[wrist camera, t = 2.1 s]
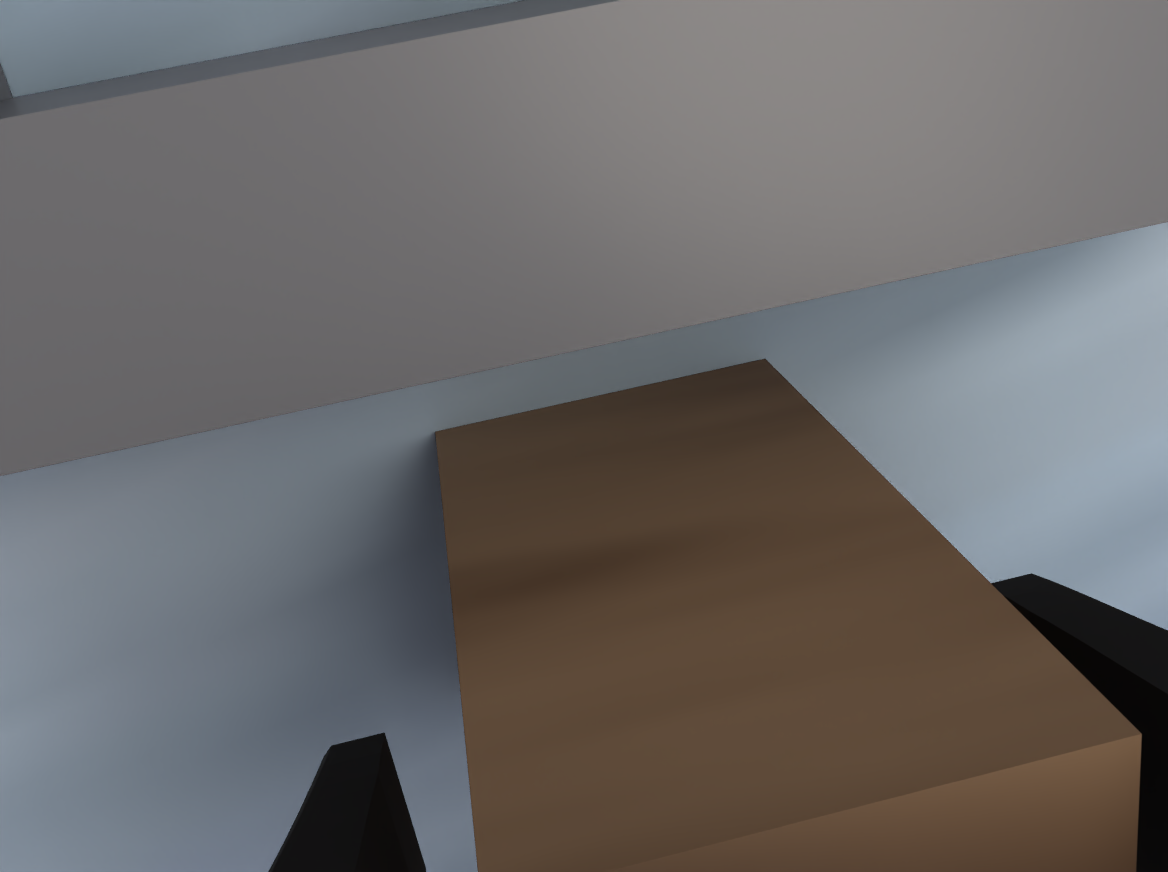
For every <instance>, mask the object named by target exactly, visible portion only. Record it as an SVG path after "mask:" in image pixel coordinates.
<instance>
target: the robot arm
mask: <svg viewBox="0 0 1168 872" xmlns="http://www.w3.org/2000/svg"><path fill="white" fill-rule="evenodd" d="M991 584H992V585H993V586H994V587H995V588H996V589H997V590H998V591H999V592H1000V593H1001V594H1002V595H1003V596H1004V597H1005V598H1006V599H1007V600H1008V601H1009V602H1010V603H1011V604H1012V605H1013V606H1014V607H1015V608H1016V609H1017V610H1018V611H1019V612H1020V613H1021V614H1022V615H1023V616H1024V617H1025V618H1026V619H1027V620H1028V621H1029V622H1030V623H1031V624H1032V625H1033V626H1034V627H1035V628H1036V629H1037V630H1038V631H1039V632H1040V633H1041V634H1042V635H1043V636H1044V637H1045V638H1046V639H1047V640H1048V641H1049V642H1050V643H1051V644H1052V645H1053V646H1054V647H1055V648H1056V649H1057V650H1058V651H1059V652H1060V653H1061V654H1062V655H1063V656H1064V657H1065V658H1066V659H1067V660H1068V661H1069V662H1070V663H1071V664H1072V665H1073V666H1074V667H1075V668H1076V669H1077V670H1078V671H1079V672H1080V673H1081V674H1082V675H1083V676H1084V677H1085V678H1086V679H1087V680H1088V681H1089V682H1090V683H1091V684H1092V685H1093V686H1094V687H1095V688H1096V689H1097V690H1098V691H1099V692H1100V693H1101V694H1102V695H1103V696H1104V697H1105V698H1106V699H1107V700H1108V701H1109V702H1110V703H1111V704H1112V705H1113V706H1114V707H1115V708H1116V709H1117V710H1118V711H1119V712H1120V713H1121V714H1122V715H1123V716H1124V717H1125V718H1126V719H1127V720H1128V721H1129V722H1130V723H1131V724H1132V725H1133V726H1134V727H1135V728H1136V729H1137V730H1138V731H1139V732H1140V733H1141V734H1142V740H1141V764H1140V788H1139V812H1138V836H1137V860H1136V872H1168V631H1167V630H1165V629H1163V628H1160V627H1158V626H1156V625H1153V624H1151V623H1149V622H1146V621H1144V620H1142V619H1139V618H1137V617H1135V616H1133V615H1130V614H1128V613H1126V612H1123V611H1121V610H1119V609H1116V608H1114V607H1112V606H1110V605H1107V604H1105V603H1103V602H1100V601H1098V600H1096V599H1093V598H1091V597H1089V596H1086V595H1084V594H1082V593H1079V592H1077V591H1075V590H1072V589H1070V588H1068V587H1065V586H1063V585H1060V584H1058V583H1055V582H1053V581H1050V580H1048V579H1045V578H1042V577H1040V576H1037V575H1034V574H1027V575H1023V576H1019V577H1015V578H1011V579H1007V580H1003V581H999V582H995V583H991ZM269 872H426V867H425V864H424V861H423V857H422V854H421V851H420V848H419V844H418V841H417V838H416V834H415V831H414V828H413V825H412V821H411V818H410V815H409V811H408V808H407V805H406V802H405V798H404V795H403V792H402V788H401V785H400V782H399V779H398V775H397V772H396V769H395V765H394V762H393V759H392V756H391V752H390V749H389V746H388V742H387V739H386V736H385V733H381V734H377V735H373V736H369V737H365V738H361V739H357V740H353V741H349V742H344V743H340V744H336V745H332V746H331V747H330V749H329V750H328V751H327V753H326V754H325V756H324V758H323V760H322V762H321V764H320V767H319V769H318V771H317V774H316V776H315V778H314V780H313V782H312V785H311V787H310V789H309V791H308V793H307V796H306V798H305V800H304V802H303V804H302V806H301V809H300V811H299V813H298V815H297V817H296V819H295V821H294V823H293V825H292V827H291V829H290V831H289V833H288V835H287V837H286V839H285V841H284V843H283V845H282V847H281V849H280V851H279V853H278V855H277V857H276V859H275V860H274V862H273V864H272V866H271V868H270V870H269Z"/></svg>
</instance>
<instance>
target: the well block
mask: <svg viewBox="0 0 1168 872" xmlns="http://www.w3.org/2000/svg"><path fill="white" fill-rule="evenodd" d="M1165 222H1168V0H523V1H518V2H513V3H508V4H502V5H497V6H492V7H487V8H481V9H476V10H471V11H465V12H460V13H455V14H450V15H444V16H439V17H434V18H429V19H423V20H418V21H413V22H408V23H402V24H397V25H392V26H387V27H381V28H376V29H371V30H366V31H360V32H355V33H350V34H345V35H339V36H334V37H329V38H324V39H318V40H313V41H308V42H303V43H297V44H292V45H287V46H282V47H276V48H271V49H266V50H261V51H255V52H250V53H245V54H240V55H234V56H229V57H224V58H219V59H213V60H208V61H203V62H197V63H192V64H187V65H182V66H176V67H171V68H166V69H161V70H155V71H150V72H145V73H140V74H134V75H129V76H124V77H119V78H113V79H108V80H103V81H98V82H92V83H87V84H82V85H77V86H71V87H66V88H61V89H56V90H50V91H45V92H40V93H35V94H29V95H24V96H19V97H14V98H13V97H12V94H11V91H10V89H9V86H8V83H7V80H6V78H5V75H4V72H3V70H2V67H1V64H0V476H2V475H7V474H12V473H16V472H21V471H25V470H30V469H35V468H39V467H44V466H48V465H53V464H58V463H62V462H67V461H71V460H76V459H81V458H85V457H90V456H94V455H99V454H104V453H108V452H113V451H117V450H122V449H126V448H131V447H136V446H140V445H145V444H149V443H154V442H159V441H163V440H168V439H172V438H177V437H182V436H186V435H191V434H195V433H200V432H205V431H209V430H214V429H218V428H223V427H228V426H232V425H237V424H241V423H246V422H251V421H255V420H260V419H264V418H269V417H274V416H278V415H283V414H287V413H292V412H297V411H301V410H306V409H310V408H315V407H320V406H324V405H329V404H333V403H338V402H343V401H347V400H352V399H356V398H361V397H366V396H370V395H375V394H379V393H384V392H388V391H393V390H398V389H402V388H407V387H411V386H416V385H421V384H425V383H430V382H434V381H439V380H444V379H448V378H453V377H457V376H462V375H467V374H471V373H476V372H480V371H485V370H490V369H494V368H499V367H503V366H508V365H513V364H517V363H522V362H526V361H531V360H536V359H540V358H545V357H549V356H554V355H559V354H563V353H568V352H572V351H577V350H582V349H586V348H591V347H595V346H600V345H605V344H609V343H614V342H618V341H623V340H627V339H632V338H637V337H641V336H646V335H650V334H655V333H660V332H664V331H669V330H673V329H678V328H683V327H687V326H692V325H696V324H701V323H706V322H710V321H715V320H719V319H724V318H729V317H733V316H738V315H742V314H747V313H752V312H756V311H761V310H765V309H770V308H775V307H779V306H784V305H788V304H793V303H798V302H802V301H807V300H811V299H816V298H821V297H825V296H830V295H834V294H839V293H844V292H848V291H853V290H857V289H862V288H866V287H871V286H876V285H880V284H885V283H889V282H894V281H899V280H903V279H908V278H912V277H917V276H922V275H926V274H931V273H935V272H940V271H945V270H949V269H954V268H958V267H963V266H968V265H972V264H977V263H981V262H986V261H991V260H995V259H1000V258H1004V257H1009V256H1014V255H1018V254H1023V253H1027V252H1032V251H1037V250H1041V249H1046V248H1050V247H1055V246H1060V245H1064V244H1069V243H1073V242H1078V241H1083V240H1087V239H1092V238H1096V237H1101V236H1105V235H1110V234H1115V233H1119V232H1124V231H1128V230H1133V229H1138V228H1142V227H1147V226H1151V225H1156V224H1161V223H1165Z"/></svg>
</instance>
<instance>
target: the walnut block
mask: <svg viewBox="0 0 1168 872" xmlns="http://www.w3.org/2000/svg"><path fill="white" fill-rule="evenodd" d="M435 435H436V445H437V455H438V465H439V476H440V486H441V496H442V507H443V517H444V527H445V537H446V548H447V558H448V568H449V579H450V589H451V599H452V610H453V620H454V630H455V640H456V651H457V661H458V671H459V682H460V692H461V702H462V712H463V723H464V733H465V743H466V754H467V764H468V774H469V784H470V795H471V805H472V815H473V826H474V836H475V846H476V857H477V867H478V872H1136V860H1137V836H1138V812H1139V788H1140V764H1141V740H1142V734H1141V733H1140V732H1139V731H1138V730H1137V729H1136V728H1135V727H1134V726H1133V725H1132V724H1131V723H1130V722H1129V721H1128V720H1127V719H1126V718H1125V717H1124V716H1123V715H1122V714H1121V713H1120V712H1119V711H1118V710H1117V709H1116V708H1115V707H1114V706H1113V705H1112V704H1111V703H1110V702H1109V701H1108V700H1107V699H1106V698H1105V697H1104V696H1103V695H1102V694H1101V693H1100V692H1099V691H1098V690H1097V689H1096V688H1095V687H1094V686H1093V685H1092V684H1091V683H1090V682H1089V681H1088V680H1087V679H1086V678H1085V677H1084V676H1083V675H1082V674H1081V673H1080V672H1079V671H1078V670H1077V669H1076V668H1075V667H1074V666H1073V665H1072V664H1071V663H1070V662H1069V661H1068V660H1067V659H1066V658H1065V657H1064V656H1063V655H1062V654H1061V653H1060V652H1059V651H1058V650H1057V649H1056V648H1055V647H1054V646H1053V645H1052V644H1051V643H1050V642H1049V641H1048V640H1047V639H1046V638H1045V637H1044V636H1043V635H1042V634H1041V633H1040V632H1039V631H1038V630H1037V629H1036V628H1035V627H1034V626H1033V625H1032V624H1031V623H1030V622H1029V621H1028V620H1027V619H1026V618H1025V617H1024V616H1023V615H1022V614H1021V613H1020V612H1019V611H1018V610H1017V609H1016V608H1015V607H1014V606H1013V605H1012V604H1011V603H1010V602H1009V601H1008V600H1007V599H1006V598H1005V597H1004V596H1003V595H1002V594H1001V593H1000V592H999V591H998V590H997V589H996V588H995V587H994V586H993V585H992V584H991V583H990V582H989V581H988V580H987V579H986V578H985V577H984V576H983V575H982V574H981V573H980V572H979V571H978V570H977V569H976V568H975V567H974V566H973V565H972V564H971V563H970V562H969V561H968V560H967V559H966V558H965V557H964V556H963V555H962V554H961V553H960V552H959V551H958V550H957V549H956V548H955V547H954V546H953V545H952V544H951V543H950V542H949V541H948V540H947V539H946V538H945V537H944V536H943V535H942V534H941V533H940V532H939V531H938V530H937V529H936V528H935V527H934V526H933V525H932V524H931V523H930V522H929V521H928V520H927V519H926V518H925V517H924V516H923V515H922V514H921V513H920V512H919V511H918V510H917V509H916V508H915V507H914V506H912V505H911V504H910V503H909V502H908V501H907V500H906V499H905V498H904V497H903V496H902V495H901V494H900V493H899V492H898V491H897V490H896V489H895V488H894V487H893V486H892V485H891V484H890V483H889V482H888V481H887V480H886V479H885V478H884V477H883V476H882V475H881V474H880V473H879V472H878V471H877V470H876V469H875V468H874V467H873V466H872V465H871V464H870V463H869V462H868V461H867V460H866V459H865V458H864V457H863V456H862V455H861V454H860V453H859V452H858V451H857V450H856V449H855V448H854V447H853V446H852V445H851V444H850V443H849V442H848V441H847V440H846V439H845V438H844V437H843V436H842V435H841V434H840V433H839V432H838V431H837V430H836V429H835V428H834V427H833V426H832V425H831V424H830V423H829V422H828V421H827V420H826V419H825V418H824V417H823V416H822V415H821V414H820V413H819V412H818V411H817V410H816V409H815V408H814V407H813V406H812V405H811V404H810V403H809V402H808V401H807V400H806V399H805V398H804V397H803V396H802V395H801V394H800V393H799V392H798V391H797V390H796V389H795V388H794V387H793V386H792V385H791V384H790V383H789V382H788V381H787V380H786V379H785V378H784V377H783V376H782V375H781V374H780V373H779V372H778V371H777V370H776V369H775V368H774V367H773V366H772V365H771V364H770V363H769V362H768V361H767V360H766V359H762V360H757V361H753V362H748V363H744V364H739V365H734V366H730V367H725V368H721V369H716V370H712V371H707V372H703V373H698V374H694V375H689V376H685V377H680V378H676V379H671V380H667V381H662V382H658V383H653V384H649V385H644V386H640V387H635V388H631V389H626V390H621V391H617V392H612V393H608V394H603V395H599V396H594V397H590V398H585V399H581V400H576V401H572V402H567V403H563V404H558V405H554V406H549V407H545V408H540V409H536V410H531V411H527V412H522V413H518V414H513V415H508V416H504V417H499V418H495V419H490V420H486V421H481V422H477V423H472V424H468V425H463V426H459V427H454V428H450V429H445V430H441V431H436V432H435Z"/></svg>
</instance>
